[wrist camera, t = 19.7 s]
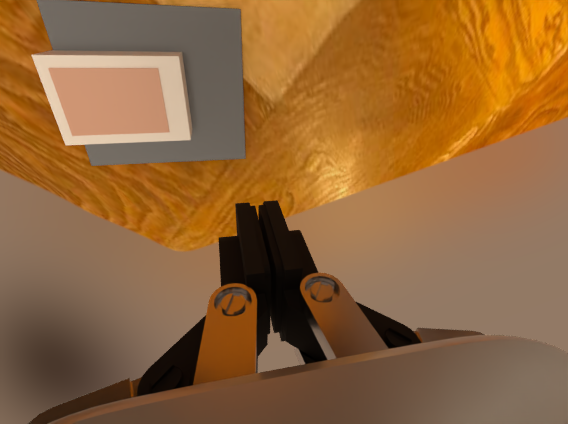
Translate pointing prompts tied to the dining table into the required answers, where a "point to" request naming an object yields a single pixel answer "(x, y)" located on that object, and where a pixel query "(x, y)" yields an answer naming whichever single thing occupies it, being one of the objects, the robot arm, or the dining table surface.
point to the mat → (166, 38)
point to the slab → (116, 95)
